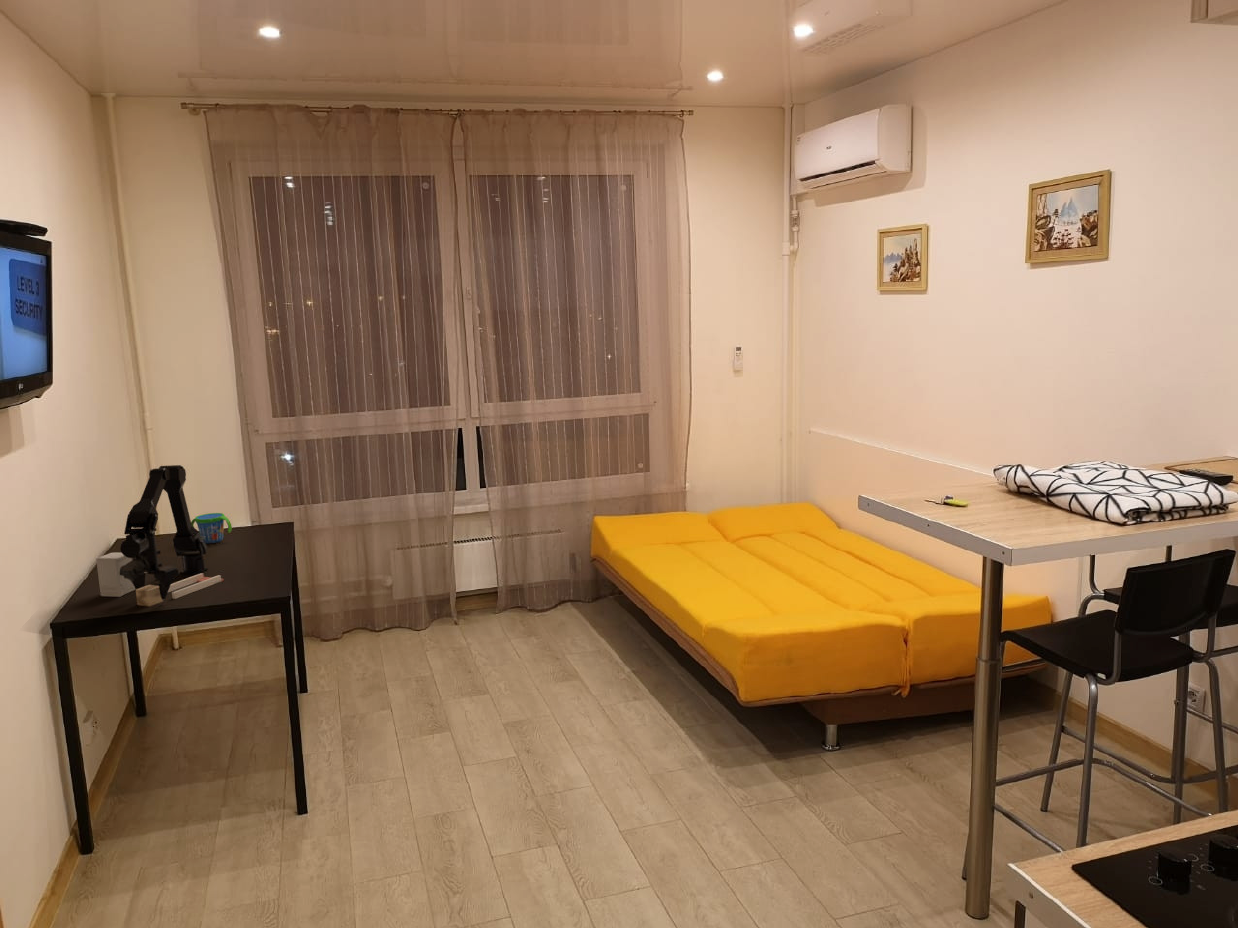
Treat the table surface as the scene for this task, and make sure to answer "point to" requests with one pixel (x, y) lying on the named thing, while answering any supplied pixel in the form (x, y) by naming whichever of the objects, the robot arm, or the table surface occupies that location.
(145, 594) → the pine block
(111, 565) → the supplement box
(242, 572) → the table surface
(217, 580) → the channel
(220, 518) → the snack cup
